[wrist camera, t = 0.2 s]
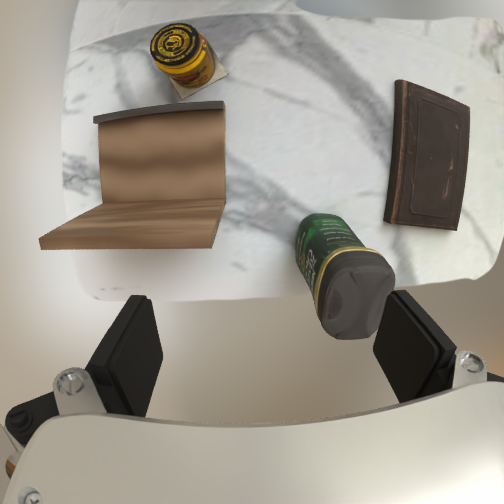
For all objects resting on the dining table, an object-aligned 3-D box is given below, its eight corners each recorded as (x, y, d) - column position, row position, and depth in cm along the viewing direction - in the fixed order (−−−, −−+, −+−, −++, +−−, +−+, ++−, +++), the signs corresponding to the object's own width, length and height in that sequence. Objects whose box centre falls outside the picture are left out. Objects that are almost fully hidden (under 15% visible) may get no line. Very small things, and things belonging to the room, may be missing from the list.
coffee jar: (296, 210, 40) (335, 261, 23) (347, 213, 40) (411, 263, 23) (290, 271, 43) (317, 350, 26) (338, 272, 44) (385, 345, 27)
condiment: (182, 100, 34) (157, 82, 22) (156, 57, 31) (126, 29, 20) (228, 74, 33) (222, 46, 21) (201, 32, 30) (186, -5, 19)
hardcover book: (462, 107, 34) (470, 107, 31) (449, 227, 42) (456, 231, 40) (392, 80, 33) (399, 78, 31) (381, 219, 41) (387, 223, 39)
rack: (106, 118, 34) (28, 111, 17) (225, 105, 34) (209, 72, 17) (110, 207, 39) (41, 249, 22) (225, 203, 39) (211, 248, 23)
